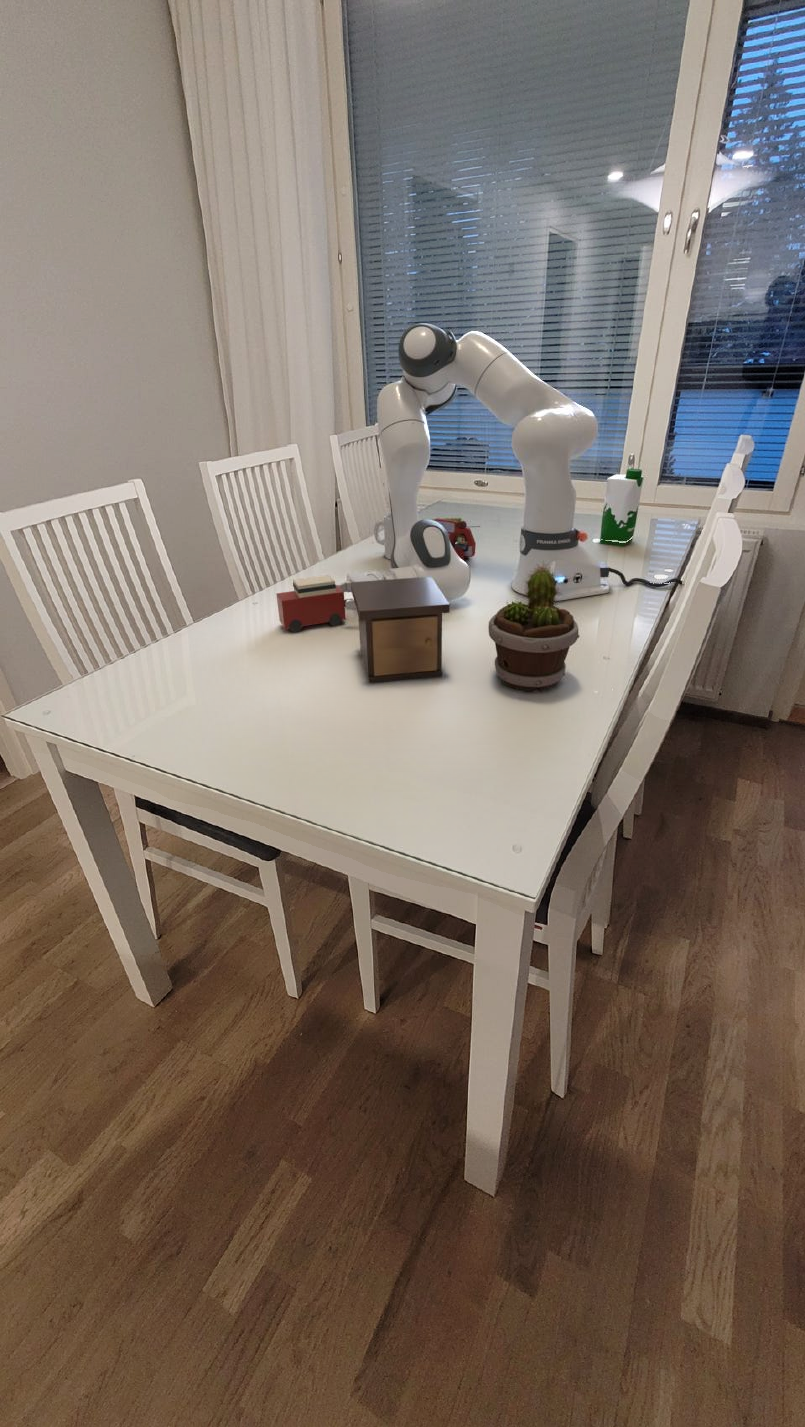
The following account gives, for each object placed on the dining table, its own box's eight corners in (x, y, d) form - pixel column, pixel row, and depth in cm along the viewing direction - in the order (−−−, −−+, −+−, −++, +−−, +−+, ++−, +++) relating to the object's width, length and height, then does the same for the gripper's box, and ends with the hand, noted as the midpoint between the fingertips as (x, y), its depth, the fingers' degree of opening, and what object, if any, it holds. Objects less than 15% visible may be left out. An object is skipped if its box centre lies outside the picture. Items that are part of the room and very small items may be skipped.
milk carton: (626, 547, 181) (637, 473, 171) (595, 543, 186) (604, 470, 176) (636, 540, 187) (648, 468, 177) (606, 536, 192) (616, 465, 182)
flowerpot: (555, 707, 103) (570, 586, 93) (470, 685, 110) (474, 571, 100) (585, 672, 113) (600, 561, 103) (505, 654, 120) (512, 548, 110)
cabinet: (430, 643, 125) (431, 576, 119) (449, 679, 112) (450, 605, 105) (354, 650, 123) (350, 582, 117) (363, 687, 110) (359, 612, 103)
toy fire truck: (467, 565, 169) (469, 525, 164) (426, 559, 175) (427, 520, 170) (479, 559, 174) (481, 520, 169) (439, 552, 180) (439, 515, 175)
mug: (420, 553, 179) (420, 513, 174) (407, 561, 173) (407, 520, 167) (382, 549, 184) (380, 510, 178) (368, 557, 177) (366, 516, 172)
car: (339, 615, 139) (335, 573, 135) (346, 624, 135) (343, 580, 130) (279, 624, 135) (274, 581, 131) (285, 634, 131) (280, 589, 126)
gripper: (383, 561, 146) (324, 569, 141) (417, 588, 129) (352, 598, 125) (383, 588, 149) (326, 596, 145) (417, 618, 132) (353, 628, 128)
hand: (338, 597), depth 135 cm, fingers open, 8 cm apart
